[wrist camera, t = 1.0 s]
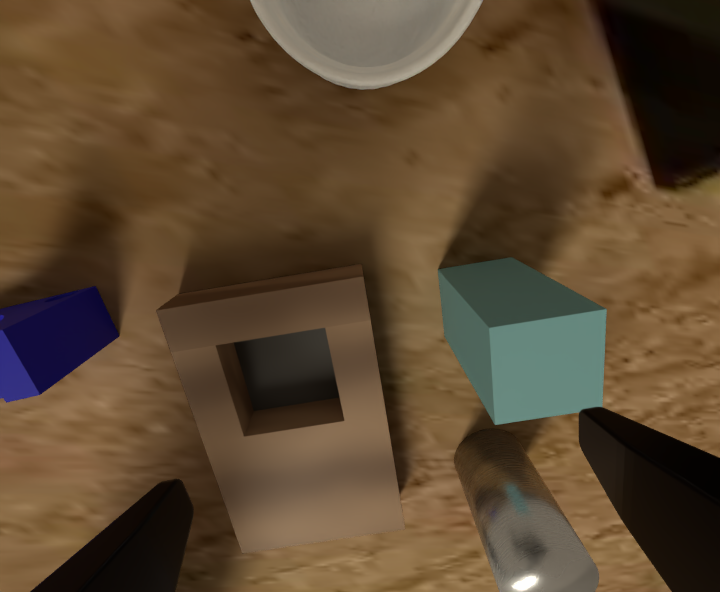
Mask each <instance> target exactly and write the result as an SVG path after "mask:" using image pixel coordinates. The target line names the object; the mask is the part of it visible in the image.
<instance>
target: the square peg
mask: <svg viewBox="0 0 720 592" xmlns="http://www.w3.org/2000/svg"><path fill="white" fill-rule="evenodd" d="M438 276H439V286H440V296H441V306H442V316H443V325H444V335H445V338H446V340H447V341H448V343H449V345H450V347H451V348H452V350H453V352H454V354H455V356H456V357H457V359H458V361H459V363H460V364H461V366H462V368H463V370H464V371H465V373H466V375H467V377H468V378H469V380H470V382H471V384H472V385H473V387H474V389H475V391H476V392H477V394H478V396H479V398H480V399H481V401H482V403H483V405H484V407H485V408H486V410H487V412H488V414H489V415H490V417H491V419H492V421H493V422H494V424H495V425H499V424H505V423H512V422H518V421H525V420H531V419H538V418H544V417H551V416H557V415H564V414H570V413H577V412H580V411H581V410H582V409H585V408H591V407H602V400H603V377H604V355H605V332H606V310H607V309H605V308H604V307H602V306H600V305H598V304H596V303H594V302H593V301H591V300H589V299H587V298H585V297H584V296H582V295H580V294H578V293H576V292H574V291H573V290H571V289H569V288H567V287H565V286H564V285H562V284H560V283H558V282H556V281H554V280H553V279H551V278H549V277H547V276H545V275H543V274H542V273H540V272H538V271H536V270H534V269H533V268H531V267H529V266H527V265H525V264H523V263H522V262H520V261H518V260H516V259H514V258H513V257H510V258H504V259H497V260H491V261H485V262H479V263H473V264H467V265H461V266H455V267H449V268H443V269H438Z"/></svg>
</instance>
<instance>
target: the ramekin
mask: <svg viewBox="0 0 720 592" xmlns="http://www.w3.org/2000/svg"><path fill="white" fill-rule="evenodd" d="M482 1H483V0H250V2H251V4H252V6H253V8H254V10H255V12H256V14H257V15H258V17H259V18H260V20H261V22H262V23H263V25H264V26H265V28H266V29H267V30H268V32H269V33H270V35H271V36H272V37H273V38H274V40H275V41H276V42H277V43H278V44H279V45H280V46H281V47H282V48H283V49H284V50H285V51H286V52H287V53H288V54H289V55H290V56H291V57H293V58H294V59H295V60H296V61H298V62H299V63H300V64H301V65H303V66H304V67H306V68H307V69H309V70H310V71H312V72H314V73H315V74H317V75H319V76H321V77H322V78H324V79H325V80H327V81H330V82H332V83H334V84H337V85H341V86H344V87H347V88H355V89H361V90H364V89H377V88H380V87H387V86H390V85H392V84H395V83H397V82H400V81H403V80H406V79H408V78H410V77H412V76H414V75H416V74H418V73H420V72H422V71H423V70H425V69H426V68H428V67H429V66H431V65H432V64H433V63H435V62H436V61H437V60H438V59H440V58H441V57H442V56H443V55H444V54H445V53H446V52H448V51H449V49H450V48H451V47H452V46H453V45H454V44H455V43H456V42H457V41H458V40H459V39H460V37H461V36H462V34H463V33H464V32H465V30H466V29H467V27H468V26H469V24H470V23H471V21H472V20H473V18H474V16H475V14H476V13H477V11H478V9H479V7H480V5H481V3H482Z"/></svg>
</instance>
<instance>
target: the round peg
mask: <svg viewBox="0 0 720 592" xmlns="http://www.w3.org/2000/svg"><path fill="white" fill-rule="evenodd" d="M454 464H455V468H456V471H457V473H458V476H459V479H460V482H461V485H462V488H463V490H464V493H465V496H466V499H467V502H468V504H469V507H470V510H471V513H472V516H473V518H474V521H475V524H476V527H477V530H478V533H479V535H480V538H481V541H482V544H483V547H484V549H485V552H486V555H487V558H488V561H489V563H490V566H491V569H492V572H493V575H494V578H495V580H496V583H497V586H498V589H499V592H595V590H596V588H597V585H598V582H599V573H598V569H597V567H596V565H595V563H594V562H593V560H592V558H591V557H590V555H589V554H588V552H587V550H586V549H585V547H584V546H583V544H582V542H581V541H580V539H579V538H578V536H577V534H576V533H575V531H574V529H573V528H572V526H571V525H570V523H569V521H568V520H567V518H566V517H565V515H564V513H563V512H562V510H561V508H560V507H559V505H558V504H557V502H556V500H555V499H554V497H553V496H552V494H551V492H550V491H549V489H548V488H547V486H546V484H545V483H544V481H543V479H542V478H541V476H540V475H539V473H538V471H537V470H536V468H535V467H534V465H533V463H532V462H531V460H530V459H529V457H528V455H527V454H526V452H525V450H524V449H523V447H522V446H521V444H520V442H519V441H518V440H517V438H516V437H515V436H513V435H512V434H510V433H509V432H506V431H504V430H499V429H486V430H481V431H478V432H476V433H473V434H472V435H470V436H468V437H467V438H466V439H465V440H464V441H462V443H461V444H460V445H459V447H458V448H457V450H456V453H455V457H454Z"/></svg>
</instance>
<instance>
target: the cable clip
mask: <svg viewBox="0 0 720 592" xmlns="http://www.w3.org/2000/svg"><path fill="white" fill-rule="evenodd" d="M118 337H119V334H118V332H117V330H116V328H115V326H114V323H113V321H112V319H111V317H110V315H109V313H108V311H107V309H106V307H105V305H104V303H103V300H102V298H101V296H100V294H99V292H98V290H97V288H96V286H93V287H89V288H85V289H81V290H77V291H73V292H68V293H64V294H60V295H56V296H52V297H48V298H44V299H39V300H35V301H31V302H27V303H23V304H19V305H14V306H10V307H6V308H2V309H0V398H4V400H5V401H6V402H10V401H15V400H19V399H24V398H28V397H32V396H37V395H40V394H42V393H43V392H44V391H46V390H47V389H48V388H50V387H51V386H53V385H54V384H55V383H57V382H58V381H59V380H61V379H62V378H63V377H65V376H66V375H67V374H69V373H70V372H72V371H73V370H74V369H76V368H77V367H78V366H80V365H81V364H82V363H84V362H85V361H86V360H88V359H89V358H91V357H92V356H93V355H95V354H96V353H97V352H99V351H100V350H101V349H103V348H104V347H105V346H107V345H108V344H109V343H111V342H112V341H114V340H115V339H116V338H118Z"/></svg>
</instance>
